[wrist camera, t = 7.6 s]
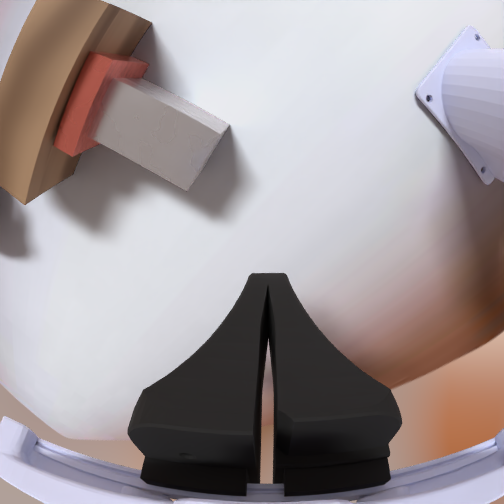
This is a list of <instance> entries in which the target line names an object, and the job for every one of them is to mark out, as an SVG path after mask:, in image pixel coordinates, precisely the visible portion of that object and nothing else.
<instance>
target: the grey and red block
mask: <svg viewBox="0 0 504 504" xmlns="http://www.w3.org/2000/svg"><path fill="white" fill-rule="evenodd" d="M148 66H149V64H147V63H145V62H143V61H141V60H138V59H136V58H134V57H132V56H127V55H120V54H113V53H105V52H96V51H90V53H89V55H88V57H87V59H86V61H85V63H84V65H83V68H82V70H81V72H80V74H79V77H78V79H77V81H76V84H75V86H74V88H73V91H72V93H71V96H70V98H69V101H68V104H67V106H66V109H65V112H64V114H63V117H62V120H61V123H60V126H59V129H58V132H57V135H56V138H55V142H54V145H53V146H54V147H56V148H58V149H60V150H61V151H63V152H65V153H67V154H68V155H70V156H72V157H73V156H75V155H77V154H79V153H81V152H83V151H86V150H88V149H90V148H92V147H94V146H97V145H99V144H102V145H104V146H106V147H108V148H110V149H111V150H113V151H115V152H117V153H119V154H121V155H122V156H124V157H126V158H128V159H130V160H131V161H133V162H135V163H137V164H139V165H140V166H142V167H144V168H146V169H148V170H149V171H151V172H153V173H155V174H157V175H158V176H160V177H162V178H164V179H165V180H167V181H169V182H171V183H173V184H174V185H176V186H178V187H180V188H181V189H183V190H185V191H188V189H189V188H190V186H191V185H192V184H193V182H194V181H195V179H196V178H197V177H198V175H199V174H200V172H201V171H202V169H203V168H204V166H205V164H206V163H207V161H208V159H209V158H210V156H211V154H212V153H213V151H214V149H215V148H216V146H217V144H218V143H219V141H220V140H221V138H222V136H223V135H224V133H225V132H226V130H227V128H228V127H229V125H230V124H228V123H226V122H225V121H223V120H221V119H219V118H218V117H216V116H214V115H212V114H210V113H209V112H207V111H205V110H203V109H201V108H200V107H198V106H196V105H194V104H192V103H190V102H188V101H187V100H185V99H183V98H181V97H179V96H177V95H175V94H173V93H171V92H169V91H167V90H165V89H163V88H161V87H159V86H157V85H155V84H153V83H151V82H149V81H147V80H145V79H143V78H142V77H143V75H144V73H145V71H146V69H147V67H148Z"/></svg>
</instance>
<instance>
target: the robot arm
mask: <svg viewBox="0 0 504 504" xmlns="http://www.w3.org/2000/svg"><path fill="white" fill-rule="evenodd" d="M475 36H476V37H477V40H476V39H475ZM427 95H429V97H430V101H429V102H427V100H426V97H427ZM416 96H417V97H418V99H419V100H420V101H421V102H422V103H423V104H424V105H425V106H426V107H427V109H428V110H429V111H430V112H431V113H432V114H433V116H434V117H435V118H436V119H437V120H438V121H439V123H440V124H441V125H442V126H443V128H444V129H445V130H446V131H447V133H448V134H449V135H450V136H451V138H452V139H453V140H454V142H455V143H456V144H457V146H458V147H459V148H460V150H461V151H462V152H463V154H464V155H465V156H466V158H467V159H468V161H469V162H470V164H471V165H472V166H473V168H474V169H475V171H476V172H477V174H478V175H479V177H480V178H481V180H482V181H483V183H485V184H486V185H489V184H491V183H492V181H493V180H494V179H495V178H497V179H498V180H500V181H502V182H503V183H504V48H490V47H489V45H488V44H487V43H486V41H485V40H484V39H483V37H482V36H481V35H480V34H479V32H478V31H477V30H476V29H475V28H474V27H473V26H467V27H466V28H465V29H464V30H463V31H462V33H461V34H460V35H459V36H458V38H457V39H456V40H455V41H454V43H453V44H452V45H451V46H450V48H449V49H448V50H447V51H446V52H445V54H444V55H443V56H442V57H441V59H440V60H439V61H438V62H437V64H436V65H435V66H434V67H433V68H432V70H431V71H430V72H429V73H428V75H427V76H426V77H425V78H424V79H423V81H422V82H421V83H420V84H419V86H418V87H417V88H416ZM482 167H483V170H482V171H481V168H482ZM268 338H269V347H270V357H271V366H272V376H273V387H274V447H273V448H274V449H273V484H260V459H261V457H260V456H261V418H262V388H263V379H264V370H265V362H266V354H267V345H268ZM401 425H402V418H401V414H400V411H399V407H398V405H397V403H396V400H395V398H394V396H393V394H392V392H391V390H390V389H389V388H388V387H386V386H384V385H383V384H381V383H380V382H378V381H377V380H375V379H373V378H372V377H370V376H369V375H367V374H366V373H364V372H363V371H362V370H361V369H359V368H358V367H357V366H355V365H354V364H353V363H352V362H351V361H350V360H349V359H347V358H346V357H345V356H344V355H343V354H342V353H341V352H340V351H338V350H337V349H336V347H335V346H334V345H333V344H332V343H331V342H330V341H329V340H328V339H327V338H326V337H325V336H324V335H323V333H322V332H321V331H320V330H319V329H318V327H317V326H316V325H315V323H314V322H313V321H312V319H311V318H310V317H309V315H308V314H307V312H306V311H305V309H304V308H303V306H302V304H301V303H300V301H299V300H298V298H297V296H296V294H295V292H294V290H293V289H292V286H291V284H290V282H289V280H288V277H287V275H286V274H285V273H252V274H251V275H249V277H248V280H247V283H246V285H245V287H244V289H243V291H242V293H241V295H240V296H239V298H238V300H237V301H236V303H235V305H234V306H233V308H232V310H231V311H230V312H229V314H228V315H227V317H226V318H225V319H224V321H223V322H222V324H221V325H220V326H219V327H218V329H217V330H216V331H215V332H214V333H213V334H212V336H211V337H210V338H209V339H208V340H207V341H206V342H205V343H204V344H203V345H202V346H201V347H200V348H199V349H198V350H197V351H196V352H195V353H194V354H193V355H192V356H191V357H190V358H188V359H187V360H186V361H185V362H183V363H182V364H181V365H180V366H178V367H177V368H176V369H175V370H173V371H172V372H171V373H169V374H168V375H167V376H165V377H163V378H162V379H160V380H159V381H157V382H156V383H154V384H152V385H151V386H149V387H147V388H146V389H144V390H143V391H142V393H141V395H140V397H139V399H138V401H137V404H136V406H135V408H134V411H133V414H132V417H131V420H130V423H129V427H128V435H129V437H130V439H131V440H132V442H133V443H134V444H135V445H136V446H137V448H138V449H139V450H140V451H141V452H142V453H143V454H144V455H145V459H144V463H143V467H142V470H137V469H133V468H129V467H125V466H121V465H117V464H113V463H109V462H106V461H102V460H99V459H96V458H93V457H90V456H86V455H83V454H80V453H77V452H74V451H72V450H69V449H66V448H63V447H61V446H58V445H56V444H53V443H50V442H48V441H45V440H43V439H41V438H38V437H37V436H36V434H35V433H34V432H33V431H31V430H30V429H29V428H28V427H26V426H25V425H23V424H21V423H19V422H17V421H15V420H13V419H11V418H9V417H7V416H4V417H3V419H2V421H1V423H0V478H2V479H4V480H5V481H7V482H8V483H10V484H11V485H13V486H15V487H16V488H18V489H20V490H21V491H23V492H25V493H26V494H28V495H30V496H32V497H33V498H35V499H37V500H39V501H41V502H43V503H45V504H489V503H491V502H493V501H495V500H496V499H498V498H500V497H502V496H504V428H503V429H502V430H501V431H500V432H499V433H498V434H497V435H496V437H495V438H492V439H490V440H488V441H485V442H483V443H481V444H478V445H476V446H473V447H470V448H468V449H465V450H463V451H460V452H457V453H454V454H451V455H448V456H445V457H442V458H438V459H435V460H432V461H428V462H425V463H421V464H418V465H414V466H410V467H406V468H402V469H397V470H393V471H390V470H389V464H388V459H387V457H389V456H390V450H389V445H388V443H389V442H390V441H391V439H392V438H393V437H394V436H395V434H396V433H397V432H398V430H399V429H400V427H401ZM170 498H171V499H177V500H175V501H174V502H173V501H172V500H171V499H170ZM352 500H357V502H356V503H351V502H350V501H352Z"/></svg>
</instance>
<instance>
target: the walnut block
mask: <svg viewBox="0 0 504 504" xmlns="http://www.w3.org/2000/svg"><path fill="white" fill-rule="evenodd" d="M150 25H151V22H149V21H147V20H145V19H143V18H141V17H139V16H137V15H135V14H132V13H130V12H128V11H126V10H123V9H121V8H119V7H116V6H114V5H112V4H109V3H106V2H104V1H101V0H37V1H36V2H35V4H34V6H33V8H32V10H31V12H30V13H29V15H28V17H27V19H26V21H25V23H24V25H23V27H22V29H21V32H20V34H19V36H18V38H17V40H16V43H15V45H14V47H13V50H12V52H11V54H10V57H9V59H8V62H7V64H6V67H5V70H4V72H3V75H2V78H1V81H0V186H1V187H2V188H3V189H5V190H6V191H7V192H8V193H10V194H11V195H12V196H13V197H15V198H16V199H17V200H19V201H20V202H21V203H22V204H24V205H26V204H27V203H29V202H30V201H32V200H33V199H35V198H36V197H38V196H39V195H41V194H42V193H44V192H45V191H47V190H48V189H50V188H52V187H53V186H55V185H56V184H58V183H60V182H61V181H63V180H64V179H66V178H68V177H69V176H71V175H73V173H74V171H75V168H76V165H77V163H78V160H79V158H80V155H81V153H82V152H81V153H79V154H77V155H75V156H73V157H72V156H70V155H68V154H67V153H65V152H63V151H61V150H60V149H58V148H56V147H54V146H53V145H54V142H55V138H56V135H57V132H58V129H59V126H60V123H61V120H62V117H63V114H64V112H65V109H66V106H67V104H68V101H69V98H70V96H71V93H72V91H73V88H74V86H75V84H76V81H77V79H78V77H79V74H80V72H81V70H82V68H83V65H84V63H85V61H86V59H87V57H88V55H89V53H90V51H96V52H105V53H113V54H120V55H127V56H130V55H131V54H132V52H133V51H134V49H135V47H136V46H137V44H138V43H139V41H140V40H141V38H142V37H143V35H144V34H145V32H146V31H147V29H148V28H149V26H150Z"/></svg>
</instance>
